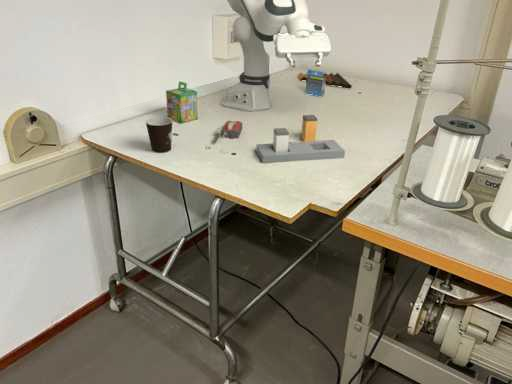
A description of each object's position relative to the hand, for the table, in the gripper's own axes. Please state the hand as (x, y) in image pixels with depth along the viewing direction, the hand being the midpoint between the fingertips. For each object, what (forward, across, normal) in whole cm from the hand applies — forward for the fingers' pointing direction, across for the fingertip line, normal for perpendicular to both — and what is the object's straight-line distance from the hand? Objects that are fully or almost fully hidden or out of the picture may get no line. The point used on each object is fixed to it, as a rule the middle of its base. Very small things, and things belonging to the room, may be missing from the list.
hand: (305, 66), depth 146 cm
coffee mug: (+24, -52, +11) cm, 58 cm away
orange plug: (+23, 0, +12) cm, 26 cm away
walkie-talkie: (+18, -28, +18) cm, 38 cm away
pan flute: (-35, +34, +72) cm, 87 cm away
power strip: (+32, -6, +3) cm, 33 cm away
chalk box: (+2, -44, +32) cm, 55 cm away
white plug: (+32, -14, +3) cm, 35 cm away
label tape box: (-19, +22, +54) cm, 62 cm away
